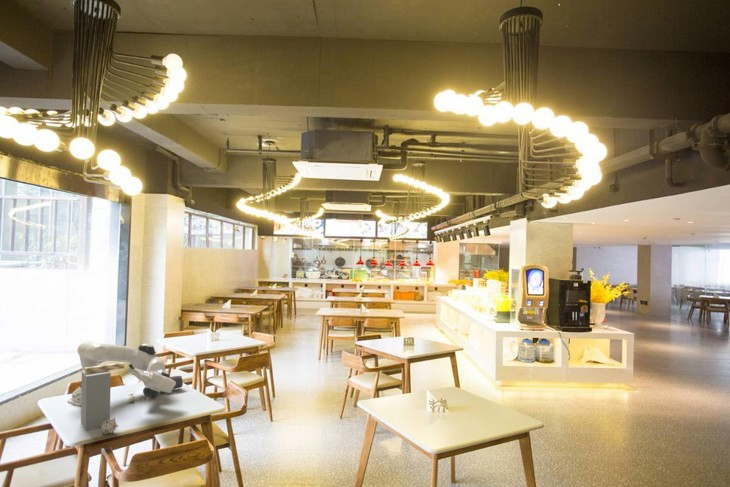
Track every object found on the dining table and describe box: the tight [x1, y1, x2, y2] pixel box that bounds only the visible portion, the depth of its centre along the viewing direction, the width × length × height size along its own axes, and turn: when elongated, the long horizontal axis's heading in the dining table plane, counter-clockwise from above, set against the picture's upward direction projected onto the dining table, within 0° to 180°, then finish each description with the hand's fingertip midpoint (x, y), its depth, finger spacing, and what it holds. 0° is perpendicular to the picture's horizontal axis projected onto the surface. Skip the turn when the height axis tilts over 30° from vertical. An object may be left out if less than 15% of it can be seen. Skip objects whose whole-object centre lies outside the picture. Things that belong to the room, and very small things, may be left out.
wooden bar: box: [85, 362, 125, 374], centre depth 266 cm, size 20×3×3 cm, turn 130°
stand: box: [80, 370, 112, 431], centre depth 263 cm, size 12×16×30 cm
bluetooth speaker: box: [159, 375, 184, 394], centre depth 323 cm, size 23×9×10 cm, turn 131°
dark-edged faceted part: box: [99, 418, 119, 436], centre depth 248 cm, size 9×8×10 cm
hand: (129, 371), depth 274 cm, fingers open, 8 cm apart
